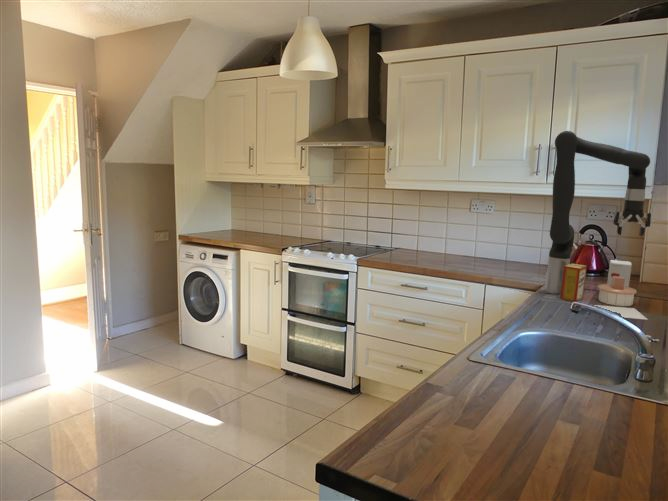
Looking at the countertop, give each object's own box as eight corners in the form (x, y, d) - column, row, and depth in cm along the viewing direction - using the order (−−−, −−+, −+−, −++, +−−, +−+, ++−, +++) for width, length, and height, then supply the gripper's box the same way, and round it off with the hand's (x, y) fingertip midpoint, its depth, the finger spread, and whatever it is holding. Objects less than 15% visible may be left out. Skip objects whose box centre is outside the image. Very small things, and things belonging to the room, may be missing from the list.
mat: (603, 316, 202) (604, 315, 202) (593, 306, 217) (593, 304, 217) (647, 321, 198) (648, 319, 198) (634, 309, 213) (634, 308, 213)
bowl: (603, 305, 218) (605, 292, 217) (595, 298, 231) (597, 285, 230) (636, 308, 216) (638, 295, 214) (626, 300, 228) (628, 287, 227)
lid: (603, 292, 217) (604, 279, 216) (593, 284, 231) (595, 272, 230) (641, 295, 213) (643, 282, 212) (629, 287, 228) (631, 275, 227)
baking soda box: (575, 302, 222) (579, 267, 219) (560, 299, 226) (564, 265, 223) (582, 299, 228) (587, 264, 226) (568, 296, 233) (572, 262, 230)
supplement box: (606, 292, 242) (610, 262, 239) (606, 288, 250) (610, 259, 247) (627, 295, 238) (632, 264, 235) (627, 291, 245) (631, 261, 243)
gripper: (619, 199, 220) (614, 235, 223) (655, 200, 216) (650, 237, 219) (614, 198, 227) (610, 233, 230) (649, 199, 223) (645, 235, 226)
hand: (630, 235), depth 225 cm, fingers open, 8 cm apart
